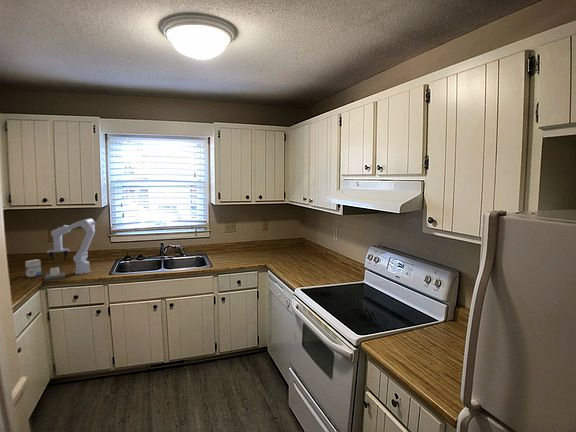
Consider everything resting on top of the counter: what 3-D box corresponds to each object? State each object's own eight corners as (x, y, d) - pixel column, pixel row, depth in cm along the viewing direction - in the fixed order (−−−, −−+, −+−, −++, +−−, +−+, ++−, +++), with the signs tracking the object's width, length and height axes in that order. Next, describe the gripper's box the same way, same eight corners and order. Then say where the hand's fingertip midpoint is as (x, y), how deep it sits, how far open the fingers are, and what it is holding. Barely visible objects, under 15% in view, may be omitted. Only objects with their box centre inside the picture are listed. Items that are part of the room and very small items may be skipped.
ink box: (38, 273, 270) (37, 258, 269) (41, 274, 268) (40, 259, 266) (25, 276, 263) (24, 261, 261) (29, 277, 260) (28, 262, 259)
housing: (58, 275, 258) (58, 269, 257) (50, 276, 255) (50, 270, 255) (59, 273, 264) (58, 267, 263) (51, 274, 261) (51, 267, 261)
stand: (65, 274, 267) (64, 272, 267) (63, 278, 258) (63, 275, 258) (46, 276, 261) (46, 274, 261) (44, 280, 253) (44, 277, 252)
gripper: (69, 242, 278) (70, 258, 279) (47, 244, 271) (48, 260, 272) (68, 244, 272) (69, 260, 273) (46, 245, 264) (47, 262, 266)
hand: (59, 260), depth 272 cm, fingers open, 7 cm apart
